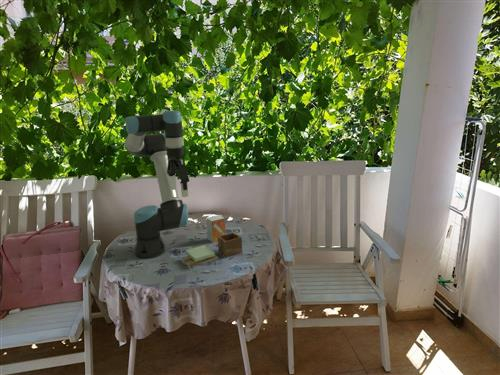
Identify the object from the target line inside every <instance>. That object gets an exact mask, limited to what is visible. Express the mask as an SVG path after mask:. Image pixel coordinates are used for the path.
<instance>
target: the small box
mask: <svg viewBox="0 0 500 375" xmlns="http://www.w3.org/2000/svg"><path fill="white" fill-rule="evenodd" d="M205 220H206V233H207V241H210V242H211V243H212V244H213V243H218V236H222V235H225V234H227V233H226V219H225V217H224V216H223V215H220V214H218V215H217V214H216V215H213V216H210V217H206V219H205Z"/></svg>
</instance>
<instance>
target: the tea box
mask: <svg viewBox="0 0 500 375" xmlns="http://www.w3.org/2000/svg"><path fill="white" fill-rule="evenodd" d="M242 238H243V237H241V236H240V235H238V234H237V233H236V232H230V233H226V234H225V235H222V236H218V242H217V245H218V246H217V247H218V253H219V254H220V255H222V256H223V257H225V258H230V257H234V256H237V255H241V254H242V253H243V239H242Z"/></svg>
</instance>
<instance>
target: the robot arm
mask: <svg viewBox="0 0 500 375" xmlns="http://www.w3.org/2000/svg"><path fill="white" fill-rule="evenodd" d="M124 120H125V121H124V122H125V130H126V133H127V134H128V135H127V136H126V137H125V140H124V147H125V150H126V151H127V152H128V153H129V154H131V155H132V156H133V155H134V156H135V157H139V158H140V157H141V158H142V157H143V158H146V157H149V159H150V160H151V162H153V164H154V170H155V173H156V179H157V184H158V187H159V192H160V196H161V203H160V205H159V206H160V207H158V206H157V205H146V206H142V207H140V208H138V209H137V210H135V212H134V214H133V218H134V220H133V222H134V227H135V236H136V241H135V247H134V255H135V256H136V257H137V256H138V257H137V258H140V259H153V258H156V257H159V256H161V255H163V254H164V253H165V252H166V244H165V242H164V241H163V239H162V238H163V237H162V235H161V232H164V231H168V230H174V229H175V230H176V229H180V228H184V227H187V225H188V222H189V209H188V205H187V203H184V202H183V200H182V199H181V198H179V194H178V188H177V178H176V171H177V174H178V177H179V179H180V181H179V182H180V191H181V192H180V193H181V197H182V198H187V197H189V188H188V186H189V185H188V183H189V182H190V178H189V174H188V170H187V167H186V161H185V159H184V158H183V159H182V157H183V156H184V155H185V148H184V141H185V140H184V137H183V125H182V120H183V119H182V115H181V112H180V110H172V109H171V110H164V111H163V112H162V114H161V113H160V114H148V115H132V116H127V117H125V119H124ZM155 132H158V133H155ZM160 132H161V133H160ZM147 133H150V134H147Z"/></svg>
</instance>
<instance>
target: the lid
mask: <svg viewBox="0 0 500 375" xmlns="http://www.w3.org/2000/svg"><path fill="white" fill-rule="evenodd" d="M185 254H186V255H187V256H190V257H191V258H192V259H193V260H194V261H195V262H196V261H199V260H203V259H206V258H209V257H213V256H215V255H216V253H215V252H214V251H213V250H212V249H210V248H209V247H207V246H206V245H205V244H203V245H201V246H195V247H192V248H189V249H186V250H185Z"/></svg>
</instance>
